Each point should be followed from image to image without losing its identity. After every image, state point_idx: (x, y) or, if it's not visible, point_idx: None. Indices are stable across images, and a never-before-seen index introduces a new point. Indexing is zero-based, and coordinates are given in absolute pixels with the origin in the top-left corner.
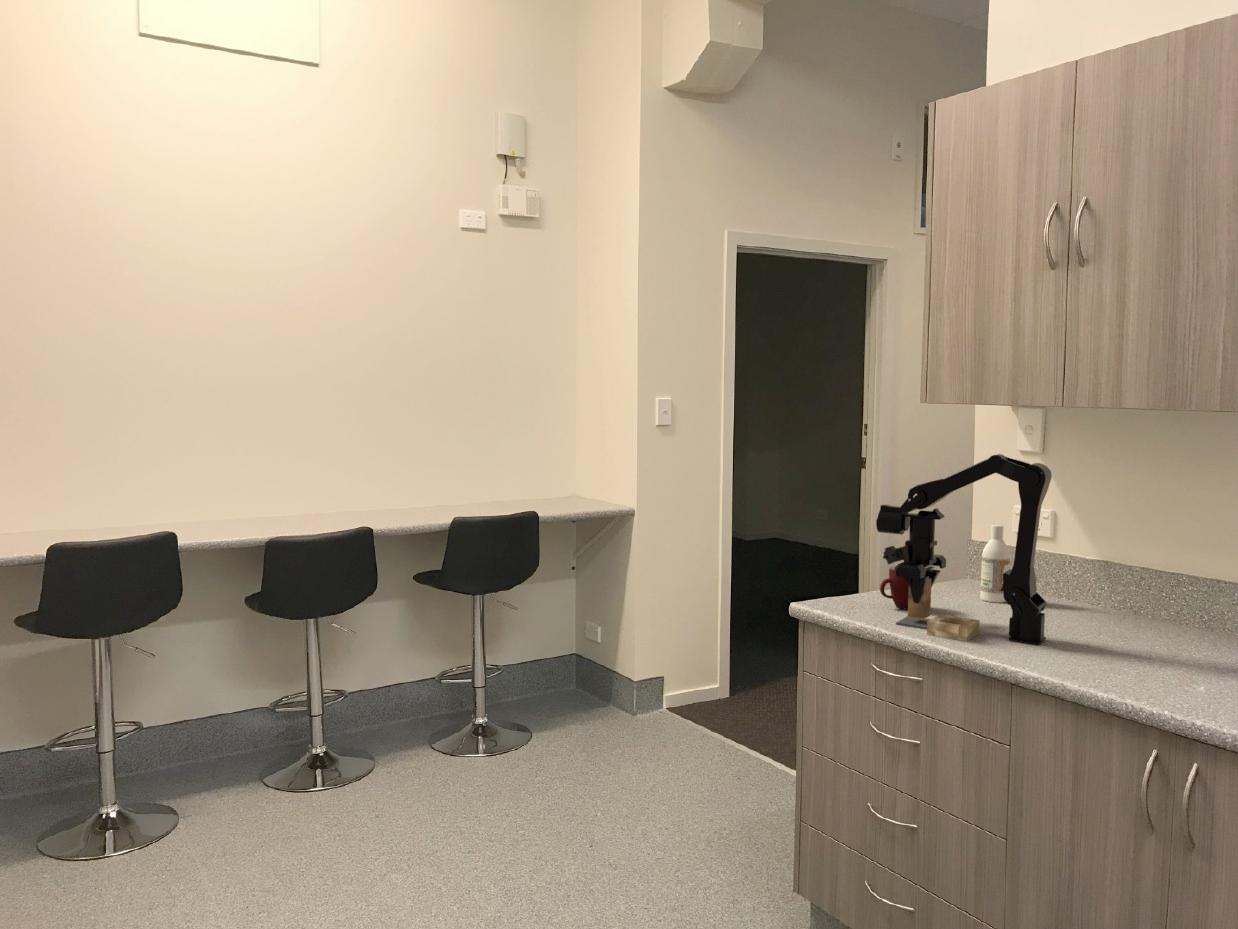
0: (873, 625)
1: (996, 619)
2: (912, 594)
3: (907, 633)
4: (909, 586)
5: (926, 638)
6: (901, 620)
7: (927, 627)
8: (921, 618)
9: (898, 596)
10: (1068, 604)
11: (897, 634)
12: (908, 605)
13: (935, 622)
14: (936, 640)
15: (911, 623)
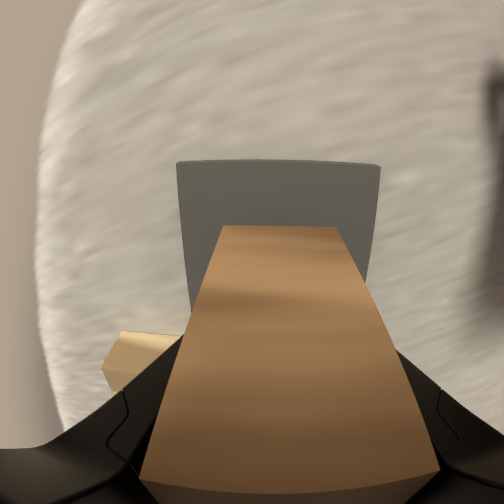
0: (89, 82)
1: (465, 403)
2: (154, 366)
3: (80, 267)
4: (168, 392)
5: (83, 337)
6: (242, 170)
7: (110, 351)
8: (361, 246)
9: None
10: None
11: (43, 241)
12: (211, 261)
13: (118, 391)
14: (91, 363)
15: (211, 241)
